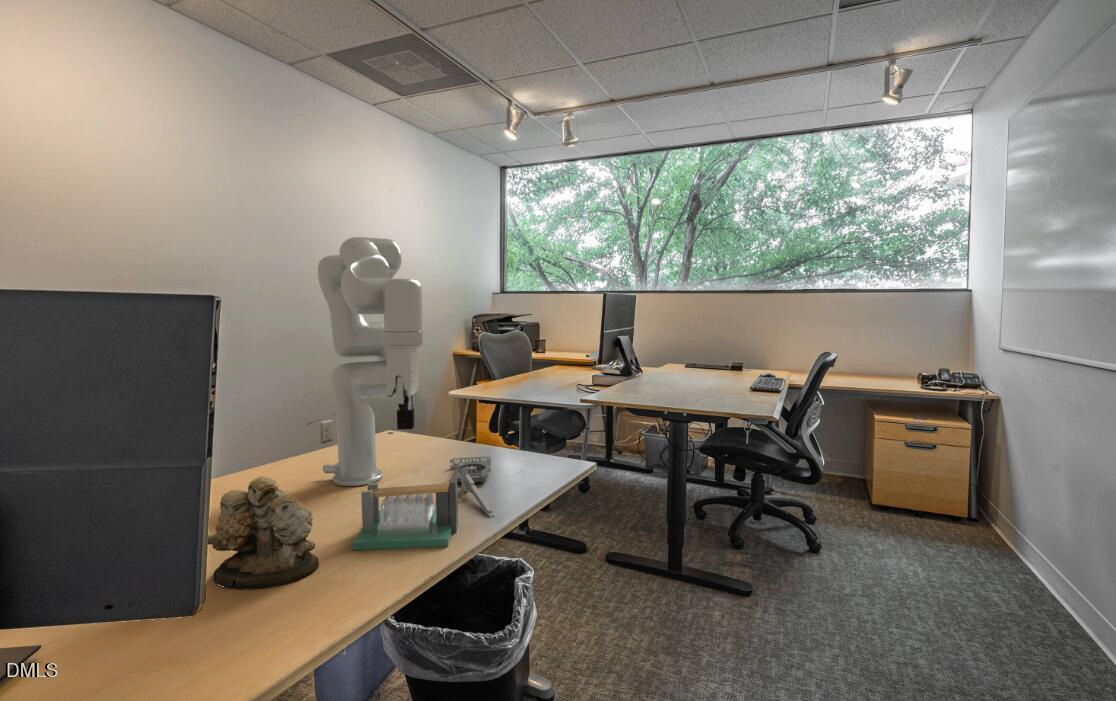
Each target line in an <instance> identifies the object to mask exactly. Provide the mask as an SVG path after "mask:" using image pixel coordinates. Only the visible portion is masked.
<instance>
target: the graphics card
mask: <svg viewBox="0 0 1116 701" xmlns="http://www.w3.org/2000/svg"><path fill="white" fill-rule="evenodd" d="M449 463H450V464H452V465H449V469H455V471H454V474H453V476H452V477H457V482H462V481H461V477H462V471H463V468H466V467H467V470H468V475H469V476H470V477H471V478H472V480H473V481H474V483H484V482H486V480H488V477H489V472H490V471H489V470H491V468H492V456H490V457H489V456H473V457H471V456H470V457H469V456H468V457H453V458H452V459H449Z"/></svg>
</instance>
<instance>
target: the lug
mask: <svg viewBox="0 0 1116 701" xmlns="http://www.w3.org/2000/svg"><path fill="white" fill-rule="evenodd" d="M449 487H450V489H449V492H442V493H435V505H436V523H437V526H449V524H450V526H451V529H452V533H457V531H458V528H459V506H458V505H459V501H458V499H459V497H458V496H459V495H458V483H457V477H453V476H451V478H450V480H449ZM452 533H451V534H452Z"/></svg>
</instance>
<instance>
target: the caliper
mask: <svg viewBox="0 0 1116 701" xmlns="http://www.w3.org/2000/svg"><path fill="white" fill-rule="evenodd" d="M461 481H462V483H461V490H462V491H463V492H464V493H468V492H469V493H471V494H472V495H473V497H474V498H475V500H476V501H477V502H478V504H479V506H480V507H481V509H482V510H483V512H484V514H486V515H487V516H488V517H489V518H495V515H494V513H493V510H492V508H491V506H490V505H489V502H487V500H486V499H485V498H484V496H483V495H482V493H481V492H480V491H479V489H478V488H477V486H476V484H475V482H474V481H473V480H472V478H471V477H470V476H469V475H468V470H467V467H466V468H463V471H462V477H461Z"/></svg>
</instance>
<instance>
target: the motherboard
mask: <svg viewBox="0 0 1116 701" xmlns="http://www.w3.org/2000/svg"><path fill="white" fill-rule="evenodd" d="M370 488H374V489H376V488H379V483H378V482H373V483H368V484H367V490H362V491H361V492H360V494H361V517H362V518H361V519H362V522H361V523H362V528H361V529H360V531H359V532H358V533H357V535H356V537H355V538H354V540H353V541H352V543H351V544H352V546H351V548H352V551H369V550H370V551H371V550H391V549H392V550H394V549H416V548H437V547H439V548H440V547H441V548H442V547H448V546H449V544H450V539H451V537H452V529H451V526H450V524H449V526H437V523H436V516H435V518H434V521H433V524H432V527H431V530H430V532H429V533H419V534H395V535H378V530H377V525H378V524H379V522H380V520H381V512H380V500H379V499H380V497H373V491H368V490H369V489H370Z"/></svg>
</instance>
